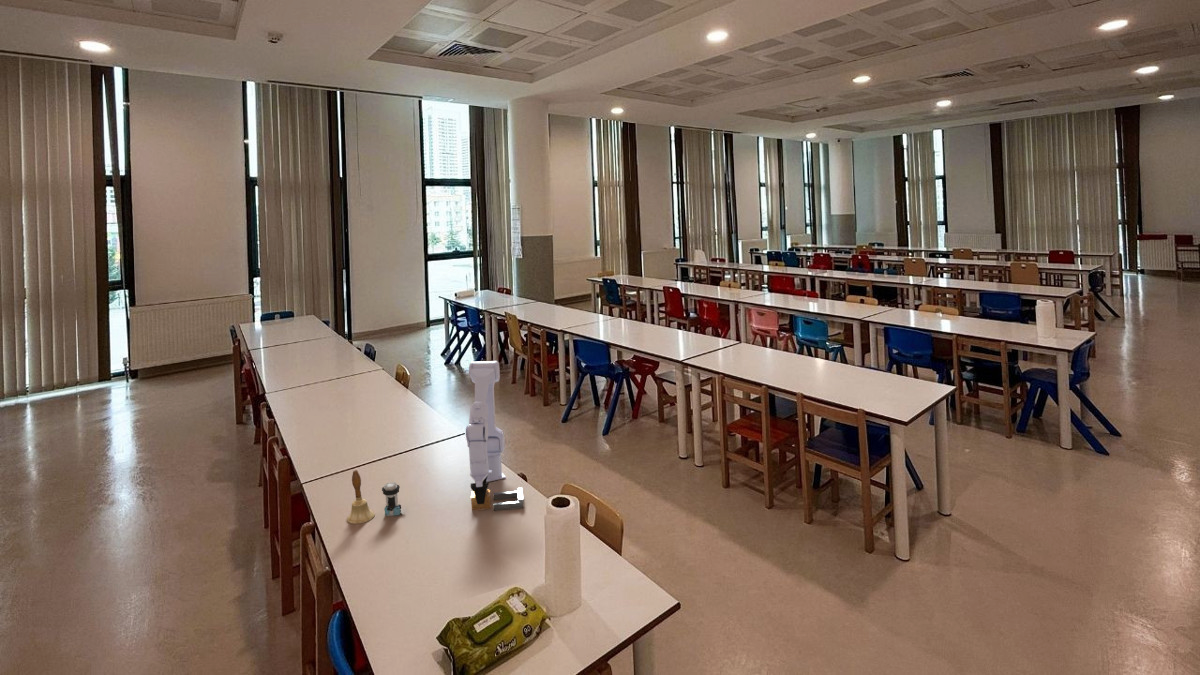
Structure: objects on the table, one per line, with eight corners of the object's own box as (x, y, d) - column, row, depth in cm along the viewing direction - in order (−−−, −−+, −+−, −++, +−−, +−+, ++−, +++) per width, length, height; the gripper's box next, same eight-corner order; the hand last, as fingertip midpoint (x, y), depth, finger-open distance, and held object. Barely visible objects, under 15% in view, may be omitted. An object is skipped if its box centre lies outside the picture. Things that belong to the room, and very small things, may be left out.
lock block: (471, 510, 195) (471, 497, 194) (472, 503, 200) (471, 491, 199) (490, 508, 196) (490, 495, 195) (490, 501, 201) (490, 489, 200)
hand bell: (365, 525, 187) (360, 476, 184) (341, 523, 189) (335, 475, 186) (379, 512, 195) (375, 466, 192) (356, 510, 197) (351, 464, 194)
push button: (408, 509, 196) (405, 481, 195) (403, 517, 191) (400, 488, 189) (387, 510, 196) (384, 481, 195) (381, 518, 191) (379, 488, 189)
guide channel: (493, 510, 195) (493, 502, 194) (493, 498, 203) (493, 490, 203) (523, 507, 196) (523, 499, 196) (522, 495, 205) (522, 487, 204)
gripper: (491, 466, 189) (493, 507, 191) (491, 449, 203) (493, 487, 205) (468, 468, 188) (470, 509, 190) (469, 451, 202) (472, 489, 204)
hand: (481, 498), depth 198 cm, fingers open, 7 cm apart
